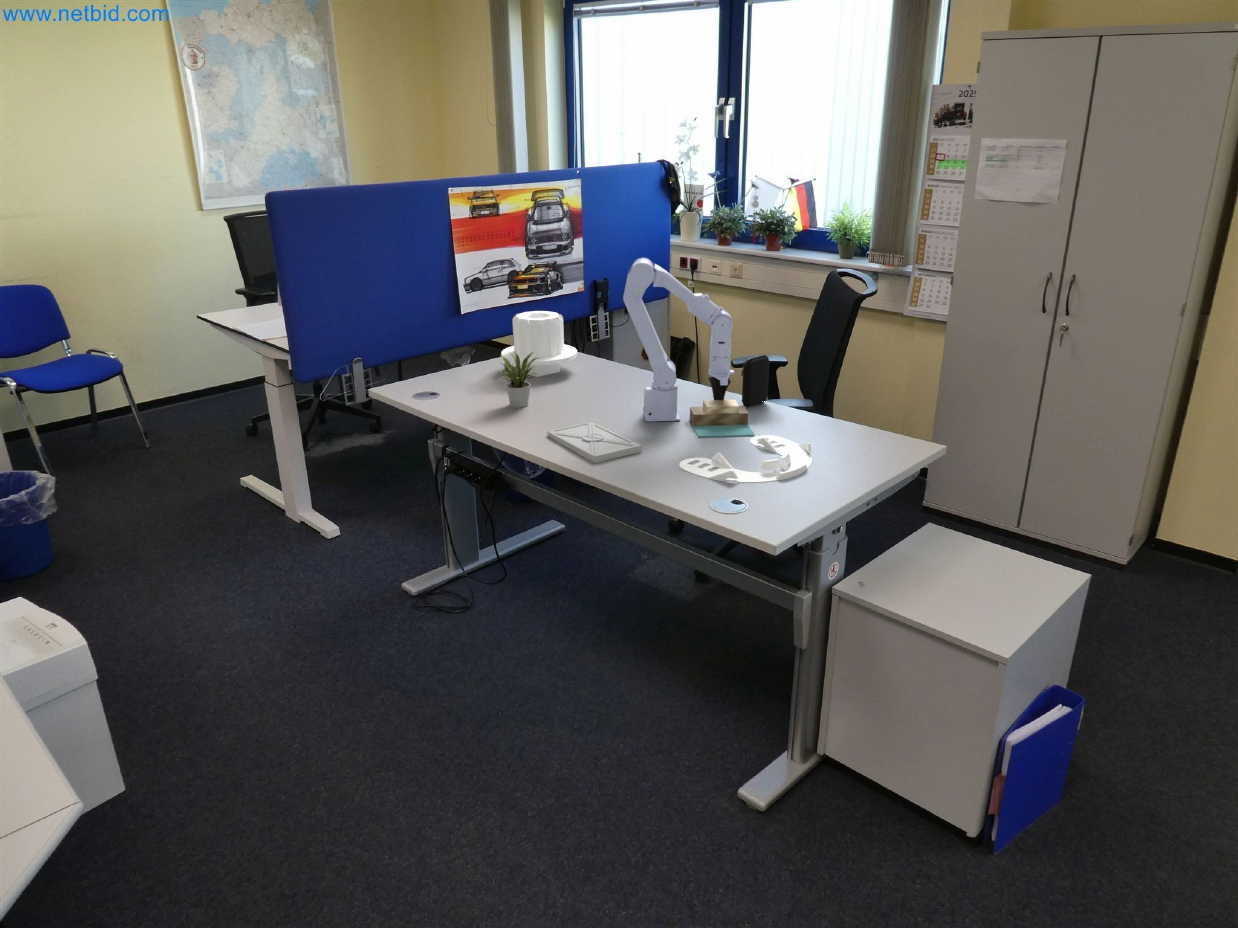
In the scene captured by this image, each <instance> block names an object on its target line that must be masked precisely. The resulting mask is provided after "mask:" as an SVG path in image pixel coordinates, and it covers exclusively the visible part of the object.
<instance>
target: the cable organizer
mask: <svg viewBox="0 0 1238 928" xmlns="http://www.w3.org/2000/svg"><path fill="white" fill-rule="evenodd" d="M749 442H750V444H751V445H753V446H754V447H760V448H763V449H764V450H766V451H768V452H772V453H775V454H776V455H780V459H779V458H774V459H767V460H763V461H762V462H761V465H760V468H759V471H763V472H765V471H773V472H768V473H767V472H766V473H761V472H759V471H757V472H753V471H747V470H741V469H737V468H734V467H733V466H732V465H731V463H729V461H728V460H727V459H726V457H724V455H722V453H721V452H720V451H719V452H717V453H716V454H714V455H713V456H712V457H711V459H710V458H705V457H690V458H686V459H683V460H681V461H680V462H679V467H680V469H681V470H682V471H685V472H686V473H689V474H692V475H695V476H698V477H701V478H705V479H708V480H715V481H719V482H727V481H729V482H737V483H743V484H744V483H745V484H752V483H753V484H755V483H756V484H757V483H770V482H776V481H782V480H787V479H791V478H793V477H796V476H799V475H800V474H803V473H804V472H806V471H807V470H808V469H809V468H810V467H811V465H812V462H813V457H812V454H808V453H812V448H811V447H812V444H811V442H805V443H803V444H800V443H798V442H796V441H793V440H790V439H788V438H784V437H782V436H778V435H770V434H769V435H768V434H762V435H756V436H752V437H751V438H750V441H749ZM773 442H774V443H773ZM779 446H781V447H779ZM714 460H715V461H717V462H715V461H714ZM693 462H696V463H695V464H692V463H693ZM703 465H704V467H702V468H701V466H703ZM705 465H707V466H705ZM714 468H717V469H714ZM711 469H714V470H713V471H710V470H711Z"/></svg>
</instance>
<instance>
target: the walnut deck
mask: <svg viewBox="0 0 1238 928" xmlns="http://www.w3.org/2000/svg"><path fill="white" fill-rule="evenodd" d="M689 420H690V422H691V425H692V427H693V428H694V426H717V425H749V412H748V410H747V409H746V407H744V405H743V404H742V405H739V413H723V414H706V412H705V410H704V408H703V405H702V406H689Z"/></svg>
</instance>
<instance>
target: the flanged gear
mask: <svg viewBox="0 0 1238 928" xmlns="http://www.w3.org/2000/svg"><path fill="white" fill-rule="evenodd" d="M512 334H513V335H512V336H513V345H511V346H508V347H505V349H504V348H503V350H502V351H501V356H503V357H504V358H506V359H507V360H508V361H509V363H510V364H515V365H516V363H515V360H514V358H513V356H514V357H515V354H514V352H516V353H517V355H518V356H519V359H520V368H522V363H523V360H524V359H525V358H526V357H527V356H528V355H529V354H530V353H532V352H535V353H533V354H532V355H531V356H530V357H529V359H528V360H529V361H528V360H527V361H528V362H527V364H528V363H530V361H531V360H532V359H534V358H540V359H536V360H534V361H533V362H532V363H531V364H530V366H529V368H531V367H533V366H535V367H533V368H532V369H531V370H530V371H529V373H528V374H527V375H529V374H532V373H536V374H537V375H531V377H534V378H539V377H542V376H543V377H544V376H548V375H552V374H557V373H560V372H561V363H565V362H569V361H572V360H574V359H575V358H577V356H578V349H576V347H574V346H571V345H568V344H565V338H564V337H565V336H564V335H565V334H564V317H563V315H562V314H559V313H558V312H554V311H548V310H547V311H546V310H533V311H524V312H521V313H516V314H515V315H514V316H513V318H512ZM508 351H509V352H510V353H511V354H512V355H513V356H512V355H511V354H510V353H509V352H508ZM501 356H500V357H501ZM501 359H502V360H503V361H504V359H503V358H502V357H501ZM515 359H516V357H515ZM529 368H528V369H529ZM526 369H527V367H526ZM526 369H525V370H526ZM527 371H528V370H527Z"/></svg>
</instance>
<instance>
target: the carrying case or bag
mask: <svg viewBox="0 0 1238 928" xmlns="http://www.w3.org/2000/svg"><path fill="white" fill-rule="evenodd" d="M740 376H741V377H742V387H741V388H742V389H741V403H742V405H743V406H744V407H745V409H746V408H747V409H748V408H752V407H755V406H760V405H763V404H764V403H765V402H766V401H767V400H768V395H769V394H768V391H769V379H770V378H769V377H770V359H769V357H768V356H767V355H766V354H762V355H761V354H760V355H757V356H753V357H749V358H747V359H746V360H745V361H744V363H743V365H742V368H741V374H740ZM762 401H763V402H762ZM764 401H765V402H764Z"/></svg>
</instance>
